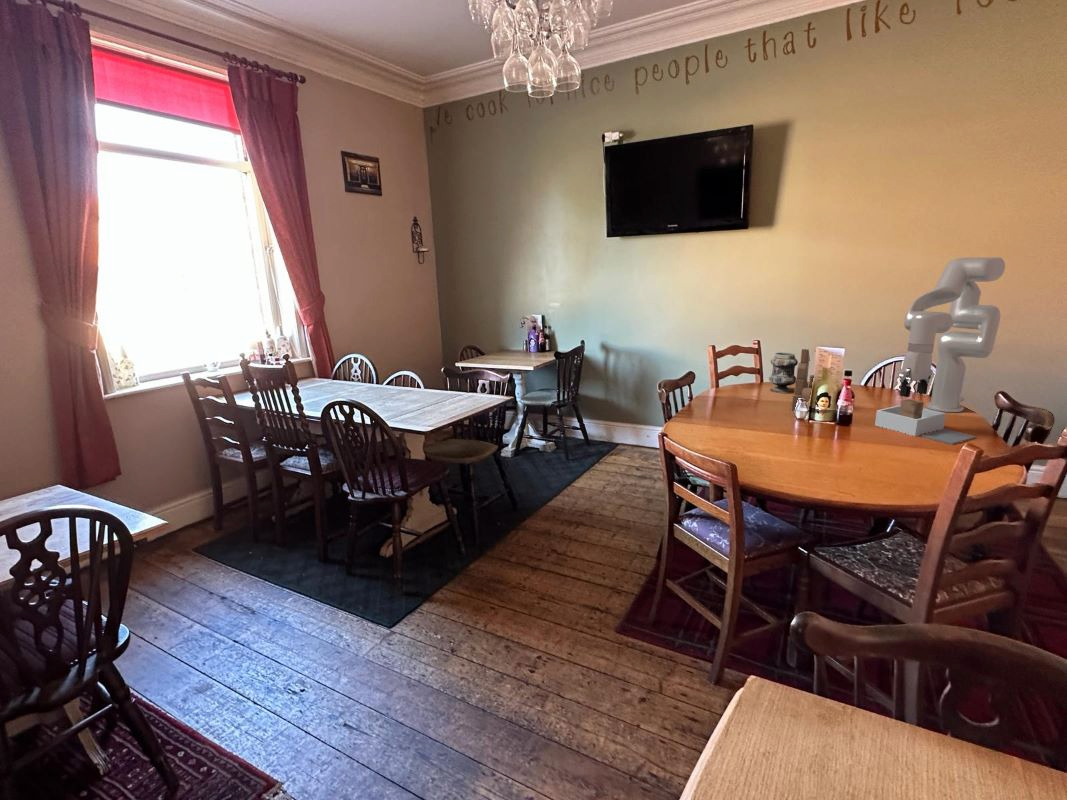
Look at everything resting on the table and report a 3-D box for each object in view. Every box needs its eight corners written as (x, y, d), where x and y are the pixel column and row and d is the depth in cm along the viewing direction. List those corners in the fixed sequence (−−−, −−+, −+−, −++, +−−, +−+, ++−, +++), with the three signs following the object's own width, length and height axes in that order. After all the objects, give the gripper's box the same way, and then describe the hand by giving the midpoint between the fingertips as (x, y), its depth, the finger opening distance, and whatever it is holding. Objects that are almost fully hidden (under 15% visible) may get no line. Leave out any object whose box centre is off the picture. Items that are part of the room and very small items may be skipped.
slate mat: (944, 430, 197) (945, 428, 197) (976, 438, 188) (976, 436, 188) (920, 436, 191) (921, 435, 191) (951, 444, 182) (952, 443, 182)
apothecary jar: (799, 389, 260) (802, 352, 255) (790, 395, 251) (793, 356, 247) (773, 386, 268) (776, 350, 263) (763, 391, 259) (766, 354, 255)
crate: (902, 418, 211) (905, 404, 210) (943, 428, 198) (946, 413, 197) (874, 425, 205) (876, 410, 203) (914, 436, 192) (917, 420, 190)
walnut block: (906, 419, 204) (909, 398, 202) (920, 422, 200) (923, 401, 198) (898, 421, 202) (901, 400, 200) (912, 424, 198) (915, 403, 196)
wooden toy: (809, 412, 224) (815, 352, 217) (791, 410, 227) (796, 351, 221) (815, 403, 236) (821, 347, 229) (799, 402, 239) (804, 346, 233)
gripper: (924, 345, 201) (917, 390, 205) (894, 349, 194) (887, 395, 198) (946, 348, 194) (938, 394, 198) (916, 351, 187) (908, 399, 191)
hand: (913, 394), depth 198 cm, fingers open, 9 cm apart
